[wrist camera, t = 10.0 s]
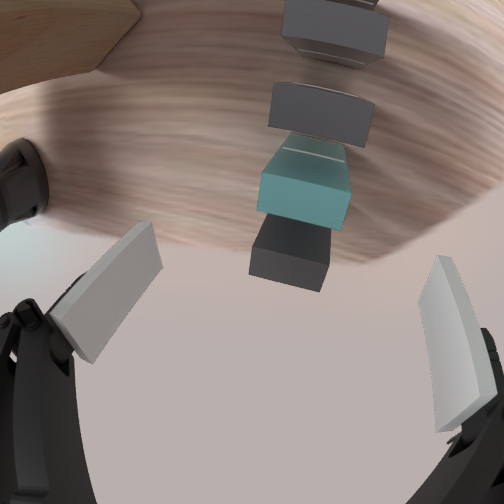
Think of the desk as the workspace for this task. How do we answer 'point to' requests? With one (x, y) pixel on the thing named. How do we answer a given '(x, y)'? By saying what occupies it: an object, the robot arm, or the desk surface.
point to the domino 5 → (291, 252)
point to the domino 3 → (321, 112)
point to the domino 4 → (307, 182)
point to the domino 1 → (358, 3)
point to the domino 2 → (335, 31)
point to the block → (58, 37)
